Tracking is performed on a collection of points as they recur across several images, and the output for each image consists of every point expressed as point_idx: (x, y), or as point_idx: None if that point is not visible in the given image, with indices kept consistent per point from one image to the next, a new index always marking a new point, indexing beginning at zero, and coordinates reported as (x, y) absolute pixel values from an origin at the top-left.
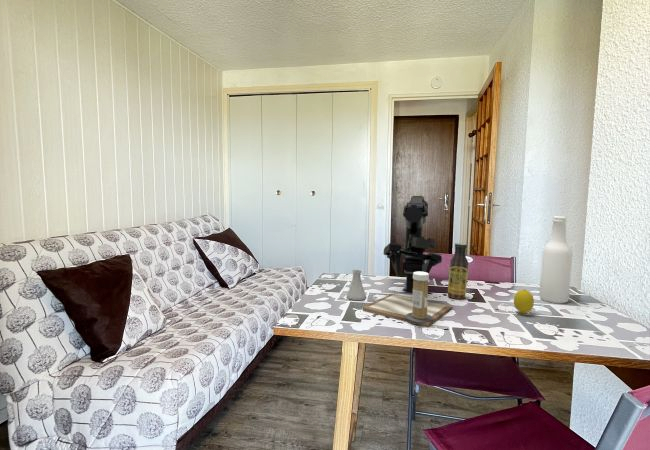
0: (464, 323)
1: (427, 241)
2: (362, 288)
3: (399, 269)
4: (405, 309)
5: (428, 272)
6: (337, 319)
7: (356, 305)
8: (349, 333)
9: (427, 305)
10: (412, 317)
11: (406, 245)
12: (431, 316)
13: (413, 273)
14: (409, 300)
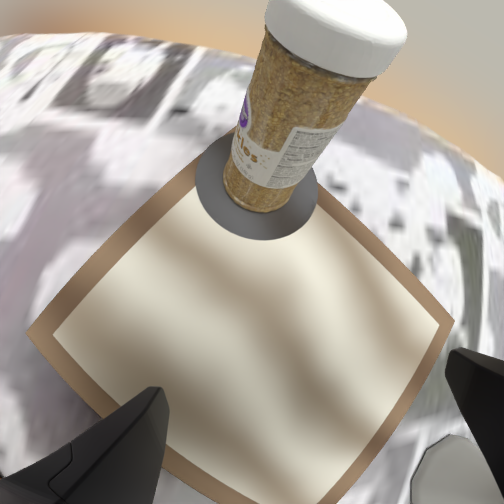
0: (77, 155)
1: None
2: (455, 479)
3: (490, 369)
4: (300, 287)
5: (79, 441)
6: (489, 238)
7: None
8: (452, 145)
9: (153, 349)
10: None
11: None
12: (198, 181)
13: (403, 23)
14: (236, 442)
